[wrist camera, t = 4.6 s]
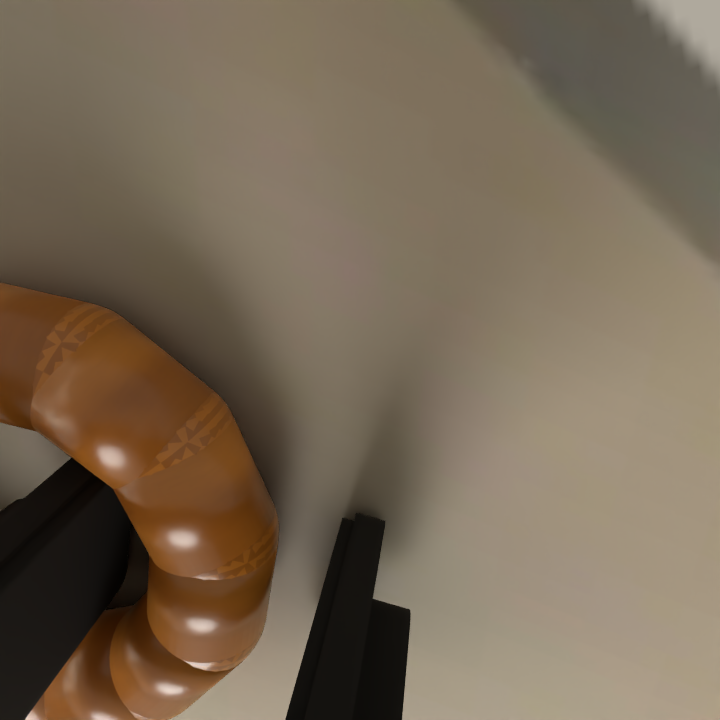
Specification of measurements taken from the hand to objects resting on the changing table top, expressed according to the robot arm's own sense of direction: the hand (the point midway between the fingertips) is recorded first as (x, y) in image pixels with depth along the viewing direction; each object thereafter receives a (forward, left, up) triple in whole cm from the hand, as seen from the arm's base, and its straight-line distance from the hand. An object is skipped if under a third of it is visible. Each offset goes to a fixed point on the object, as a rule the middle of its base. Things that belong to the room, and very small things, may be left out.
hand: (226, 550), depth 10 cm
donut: (+3, -2, +1) cm, 3 cm away
